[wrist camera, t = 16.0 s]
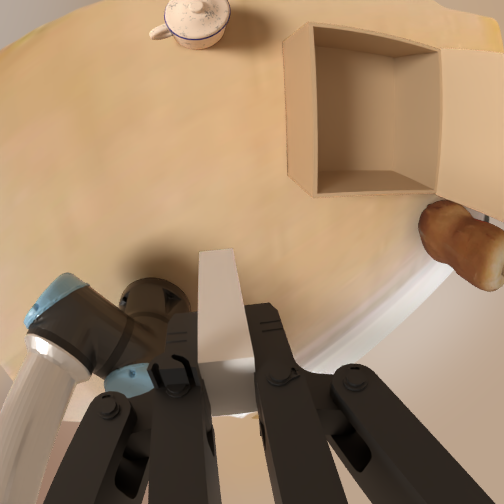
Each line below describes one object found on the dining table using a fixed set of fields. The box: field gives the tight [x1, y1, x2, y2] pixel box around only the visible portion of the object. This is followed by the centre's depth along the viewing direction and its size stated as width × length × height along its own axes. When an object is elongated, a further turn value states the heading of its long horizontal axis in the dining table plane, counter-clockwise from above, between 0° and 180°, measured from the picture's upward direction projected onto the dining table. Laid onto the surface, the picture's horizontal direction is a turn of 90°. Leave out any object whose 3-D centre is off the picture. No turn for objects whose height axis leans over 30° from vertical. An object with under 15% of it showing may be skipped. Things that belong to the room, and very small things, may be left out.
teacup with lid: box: [149, 0, 231, 49], centre depth 33 cm, size 12×9×12 cm
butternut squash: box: [418, 200, 504, 292], centre depth 50 cm, size 14×13×25 cm
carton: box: [282, 22, 443, 198], centre depth 42 cm, size 24×22×14 cm
